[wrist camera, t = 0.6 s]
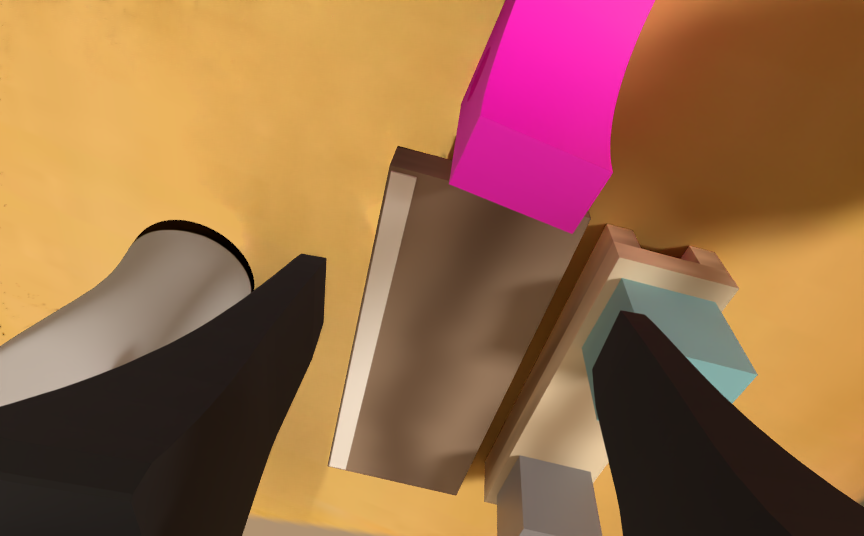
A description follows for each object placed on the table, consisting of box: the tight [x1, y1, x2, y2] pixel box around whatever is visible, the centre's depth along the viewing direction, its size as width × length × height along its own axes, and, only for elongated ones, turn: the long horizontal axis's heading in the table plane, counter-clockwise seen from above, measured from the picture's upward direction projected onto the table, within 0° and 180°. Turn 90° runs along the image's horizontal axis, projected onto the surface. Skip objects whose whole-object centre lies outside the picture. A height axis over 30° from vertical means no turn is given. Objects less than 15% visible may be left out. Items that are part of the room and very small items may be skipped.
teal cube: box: [582, 278, 758, 421], centre depth 20 cm, size 4×4×4 cm
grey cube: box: [497, 455, 602, 536], centre depth 27 cm, size 4×4×4 cm
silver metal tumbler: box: [0, 220, 255, 406], centre depth 20 cm, size 7×7×15 cm
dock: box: [328, 146, 591, 495], centre depth 26 cm, size 8×20×2 cm, turn 166°
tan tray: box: [484, 224, 739, 504], centre depth 26 cm, size 5×18×3 cm, turn 166°
